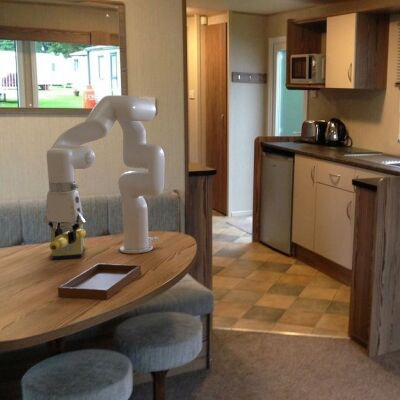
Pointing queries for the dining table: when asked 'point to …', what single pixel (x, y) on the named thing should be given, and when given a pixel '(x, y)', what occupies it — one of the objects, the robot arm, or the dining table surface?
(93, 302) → the dining table surface
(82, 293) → the tray
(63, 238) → the banana
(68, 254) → the protein box
